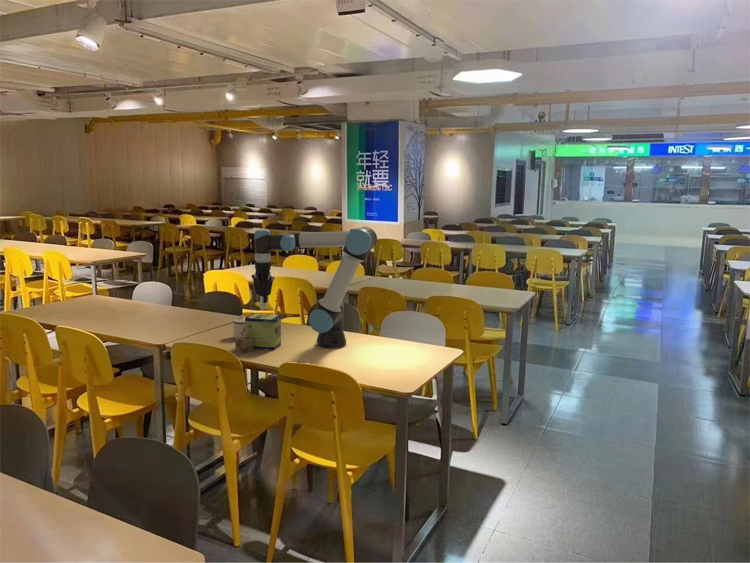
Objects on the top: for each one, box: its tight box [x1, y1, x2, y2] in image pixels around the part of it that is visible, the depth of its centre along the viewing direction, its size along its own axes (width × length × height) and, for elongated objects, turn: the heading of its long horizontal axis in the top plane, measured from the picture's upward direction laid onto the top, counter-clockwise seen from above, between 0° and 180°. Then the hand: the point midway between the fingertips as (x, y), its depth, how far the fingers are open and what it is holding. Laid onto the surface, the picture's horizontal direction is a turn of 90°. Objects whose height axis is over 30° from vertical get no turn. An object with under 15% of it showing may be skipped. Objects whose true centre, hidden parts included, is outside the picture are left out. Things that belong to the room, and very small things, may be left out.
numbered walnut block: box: [234, 337, 254, 354], centre depth 276 cm, size 6×6×6 cm
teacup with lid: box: [232, 314, 246, 339], centre depth 301 cm, size 12×9×12 cm
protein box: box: [245, 313, 282, 351], centre depth 283 cm, size 10×16×16 cm
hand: (263, 309), depth 281 cm, fingers closed
